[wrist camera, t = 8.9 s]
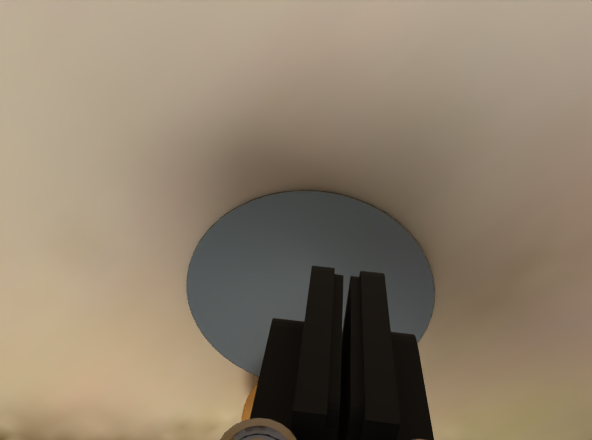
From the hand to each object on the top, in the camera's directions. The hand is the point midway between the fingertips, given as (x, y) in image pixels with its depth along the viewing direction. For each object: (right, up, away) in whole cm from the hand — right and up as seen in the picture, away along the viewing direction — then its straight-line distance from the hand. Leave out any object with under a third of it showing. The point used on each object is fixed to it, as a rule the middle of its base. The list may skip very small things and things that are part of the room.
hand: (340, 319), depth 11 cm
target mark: (0, -2, +15) cm, 16 cm away
